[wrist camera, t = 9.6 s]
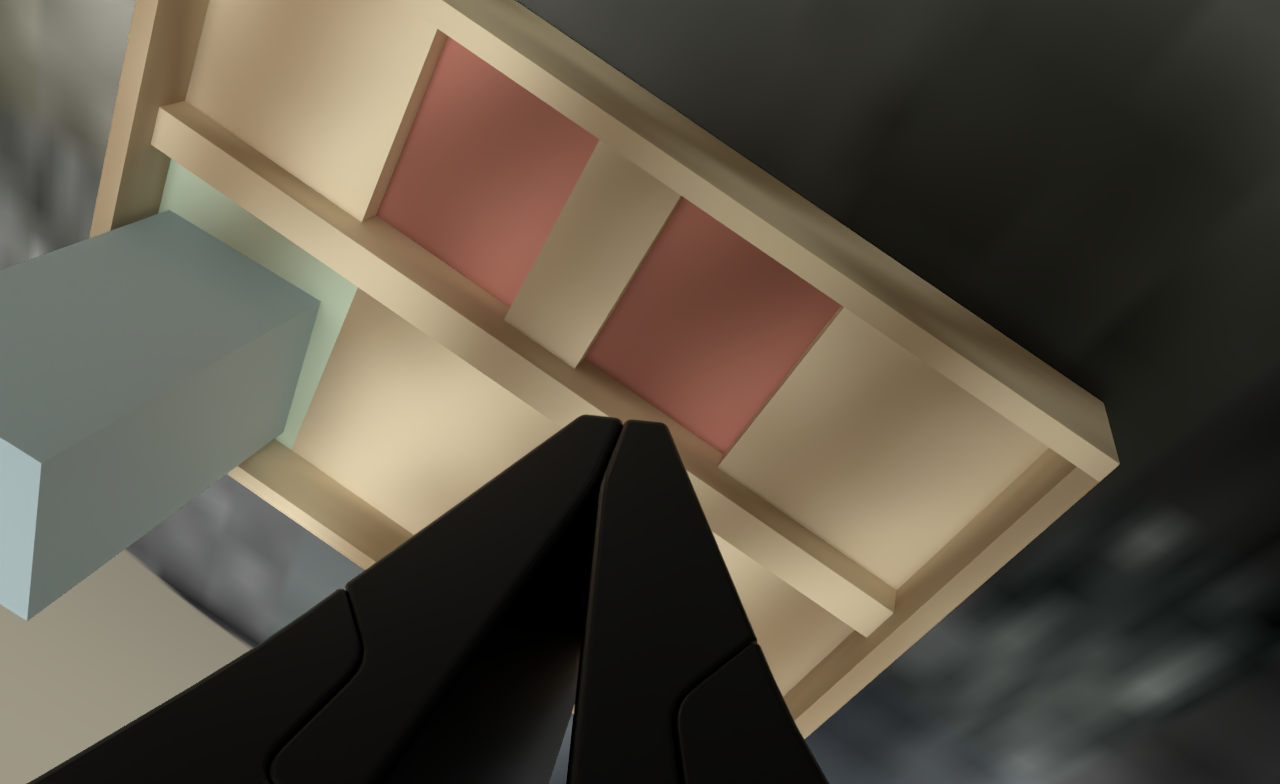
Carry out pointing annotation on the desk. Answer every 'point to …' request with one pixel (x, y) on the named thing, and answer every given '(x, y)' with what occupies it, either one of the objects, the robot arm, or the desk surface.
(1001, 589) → the desk surface
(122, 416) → the block
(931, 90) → the desk surface
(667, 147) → the wooden divided tray
